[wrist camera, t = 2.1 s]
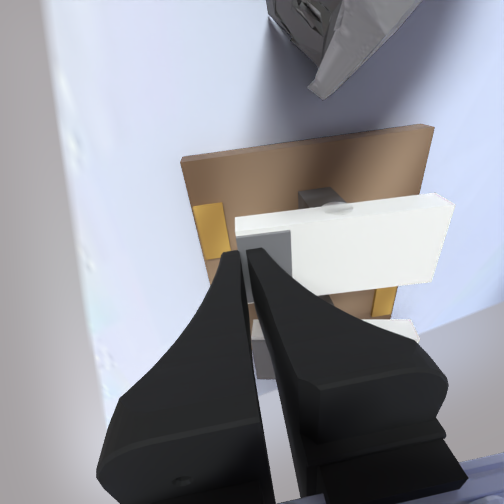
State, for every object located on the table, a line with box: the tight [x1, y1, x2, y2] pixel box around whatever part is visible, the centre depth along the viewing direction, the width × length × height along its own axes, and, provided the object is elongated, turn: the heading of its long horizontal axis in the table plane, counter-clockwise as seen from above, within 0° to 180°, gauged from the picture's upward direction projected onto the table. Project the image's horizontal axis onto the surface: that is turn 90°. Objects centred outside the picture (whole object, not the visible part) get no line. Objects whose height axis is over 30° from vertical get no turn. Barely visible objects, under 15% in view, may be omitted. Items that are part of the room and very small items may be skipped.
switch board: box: [180, 124, 435, 350], centre depth 16 cm, size 12×13×3 cm
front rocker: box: [235, 193, 455, 304], centre depth 12 cm, size 8×4×2 cm, turn 96°
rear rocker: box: [251, 319, 420, 379], centre depth 15 cm, size 8×4×2 cm, turn 96°
